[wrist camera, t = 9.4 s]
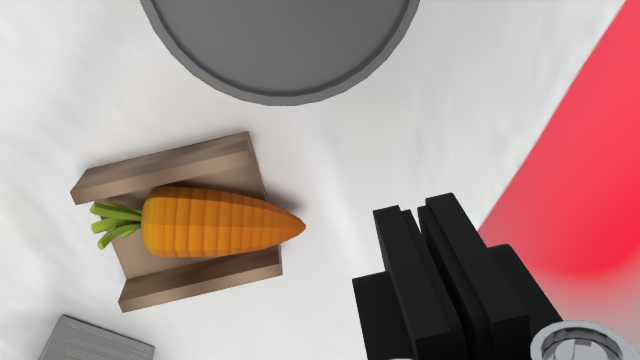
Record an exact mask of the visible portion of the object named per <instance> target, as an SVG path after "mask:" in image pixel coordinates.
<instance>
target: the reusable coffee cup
mask: <svg viewBox="0 0 640 360" xmlns="http://www.w3.org/2000/svg"><path fill="white" fill-rule="evenodd" d="M140 2H141V5H142V7H143V9H144V11H145V13H146V15H147V17H148V19H149V21H150V23H151V25H152V27H153V29H154V31H155V33H156V34H157V35H158V37H159V38H160V39H161V41H162V42H163V43H164V45H165V46H166V48H167V49H168V50H169V52H170V53H171V54H172V55H173V56H174V57H175V58H176V59H177V60H178V61H179V62H180V63H181V64H182V65H183V66H184V67H185V68H186V69H187V70H188V71H189V72H190V73H192V74H193V75H194V76H196V77H197V78H199V79H200V80H202V81H203V82H205V83H206V84H208V85H210V86H211V87H213V88H214V89H216V90H218V91H220V92H223V93H225V94H228V95H230V96H232V97H235V98H237V99H240V100H243V101H248V102H253V103H257V104H262V105H267V106H297V105H302V104H308V103H313V102H319V101H322V100H325V99H327V98H330V97H332V96H335V95H337V94H340V93H343V92H345V91H347V90H348V89H350V88H351V87H353V86H355V85H356V84H358V83H359V82H361V81H363V80H364V79H366V78H367V77H368V76H370V75H371V74H372V73H373V72H374V71H375V70H376V69H377V68H378V67H379V66H380V65H381V64H383V63H384V62H385V61H386V60H387V59H388V58H389V56H390V55H391V54H392V52H393V51H394V49H395V48H396V47H397V45H398V44H399V43H400V41H401V40H402V39H403V37H404V36H405V34H406V32H407V30H408V28H409V26H410V24H411V22H412V20H413V18H414V16H415V14H416V12H417V9H418V5H419V2H420V0H140Z"/></svg>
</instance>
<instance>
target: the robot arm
mask: <svg viewBox="0 0 640 360" xmlns="http://www.w3.org/2000/svg"><path fill="white" fill-rule="evenodd" d="M425 203H426V206H421V207H418V208H417V211H418V218H419V223H420V229H421V233H420V230H419V228H418V226H417V224H416V221H415V219H414V217H413V215H412V213H411V210H410V209H408V210H404V211H401V210H400V208H399V206H398V205H396V206H391V207H387V208H383V209H378V210H374V211H373V215H374V220H375V225H376V230H377V234H378V239H379V244H380V248H381V253H382V258H383V262H384V267H385V271H384V272H380V273H376V274H371V275H367V276H363V277H358V278H354V279H352V283H353V288H354V293H355V298H356V303H357V308H358V313H359V318H360V323H361V328H362V333H363V338H364V343H365V348H366V353H367V358H368V360H640V352H639V351H638V350H637V349H636V348H635V347H633V346H632V345H631V344H630V343H629V342H628V341H627V340H626V339H625V338H624V337H622V336H621V335H619V334H617V333H616V332H615V331H613V330H612V329H610V328H607V327H605V326H602V325H600V324H597V323H592V322H586V321H563V320H562V318H561V317H560V315H559V314H558V312H557V311H556V310H555V308H554V307H553V305H552V304H551V303H550V301H549V300H548V298H547V297H546V295H545V294H544V292H543V291H542V290H541V288H540V287H539V285H538V284H537V283H536V281H535V280H534V278H533V277H532V276H531V274H530V273H529V271H528V270H527V268H526V267H525V266H524V264H523V263H522V261H521V260H520V258H519V257H518V256H517V254H516V253H515V252H514V250H513V249H512V247H511V246H510V245H509V244H502V245H498V246H493V247H489V248H487V247H486V245H485V243H484V242H483V240H482V239H481V237H480V235H479V234H478V232H477V231H476V229H475V228H474V226H473V224H472V223H471V221H470V220H469V218H468V216H467V215H466V213H465V212H464V210H463V209H462V207H461V205H460V204H459V202H458V201H457V199H456V197H455V196H454V194H453V193H447V194H443V195H438V196H434V197H430V198H426V200H425Z"/></svg>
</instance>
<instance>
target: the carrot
mask: <svg viewBox="0 0 640 360" xmlns="http://www.w3.org/2000/svg"><path fill="white" fill-rule="evenodd" d="M90 212H91V213H93V214H96V215H100V216H104V217H110V218H106V219H103V220H101V221H98V222H96V223H93V224H92V231H93V233H94V234H97V233H100V232H103V231H107V230H109V229H112V228H113V230H111V231H110V232H108V233H106V234H105V235H104V236H103V237H102V238H101V239H100V241H99V242H98V243H97V244H98V247H99V248H100V249H101V250H102V249H104V248H105V247H106V246H107V245H108V243H109V242H110V241H111V240H112V239H114V238H115V237H117V236H118V235H120V234H121V236H122V238H123V239H124V238H125V237H127V236H128V235H130V234H131V233H133V232H134V231H136V230H137V229H141V236H142V240H143V242H144V244H145V246H146V248H147V250H148V251H149V252H150V253H151V254H152V255H155V256H160V257H214V256H225V255H233V254H240V253H246V252H252V251H257V250H262V249H265V248H268V247H271V246H274V245H277V244H280V243H282V242H285V241H287V240H289V239H291V238H293V237H295V236H298V235H299V234H300V233H301V232H303V231H304V230H305V229H306V225H305V224H304V223H303V222H302V221H301V219H300V218H298V217H296V216H294V215H293V214H291V213H289V212H287V211H285V210H284V209H282V208H280V207H277V206H275V205H272V204H270V203H268V202H265V201H263V200H259V199H255V198H251V197H247V196H243V195H239V194H234V193H229V192H224V191H218V190H208V189H199V188H187V187H173V186H161V187H156V188H155V189H153V190H152V191H151V192H150V193H149V195H148V196H147V198H146V201H145V203H144V206H143V210H142V211H139V210H136V209H133V208H130V207H127V206H124V205H121V204H116V203H109V202H103V203H102V204H100V203H94V204H93V205H92V207H91V209H90Z"/></svg>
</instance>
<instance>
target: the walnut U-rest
mask: <svg viewBox="0 0 640 360" xmlns="http://www.w3.org/2000/svg"><path fill="white" fill-rule="evenodd" d="M161 186H173V187H187V188H199V189H208V190H218V191H224V192H229V193H234V194H239V195H243V196H247V197H251V198H255V199H259V200H263V201H265V202H268V200H267V197H266V193H265V190H264V186H263V182H262V179H261V175H260V172H259V168H258V165H257V161H256V157H255V154H254V150H253V147H252V143H251V140H250V136H249V133H248V132H244V133H240V134H235V135H231V136H227V137H223V138H218V139H214V140H210V141H206V142H201V143H197V144H193V145H189V146H185V147H180V148H176V149H172V150H168V151H163V152H159V153H155V154H151V155H146V156H142V157H138V158H134V159H129V160H125V161H121V162H117V163H113V164H108V165H104V166H100V167H96V168H91V169H87V170H86V171H85V173H84V174H83V175H82V177H81V178H80V179H79V181H78V182H77V183H76V185H75V186H74V187H73V189H72V190H71V191H70V193H71V196H72V198H73V200H74V202H75V205H79V204H83V203H88V202H92V201H94V202H95V203H100V204H102V203H103V202H109V203H116V204H121V205H124V206H127V207H130V208H133V209H136V210H139V211H142V210H143V206H144V203H145V201H146V198H147V196H148V195H149V193H150V192H151V191H152V190H153V189H155V188H156V187H161ZM106 218H110V217H104V216H101V219H102V220H103V219H106ZM111 230H113V228H112V229H109V230H107V233H108V232H110V231H111ZM111 243H112V245H113V247H114V250H115V252H116V254H117V257H118V259H119V262H120V264H121V266H122V269H123V271H124V273H125V276H126V278H127V280H126V283H125V285H124V288H123V290H122V293H121V296H120V298H119V301H118V303H119V305H120V308H121V310H122V312H123V313H125V312H129V311H133V310H138V309H142V308H146V307H150V306H154V305H159V304H163V303H167V302H171V301H175V300H180V299H184V298H188V297H192V296H196V295H201V294H205V293H209V292H213V291H217V290H222V289H226V288H230V287H234V286H238V285H243V284H247V283H251V282H255V281H259V280H264V279H268V278H272V277H276V276H281V275H283V273H282V258H281V247H280V244H277V245H274V246H271V247H268V248H265V249H262V250H257V251H252V252H246V253H240V254H233V255H225V256H214V257H160V256H155V255H152V254H151V253H150V252H149V251H148V250H147V248H146V246H145V244H144V242H143V240H142V236H141V229H137V230H136V231H134V232H133V233H131V234H130V235H128V236H127V237H125V238H124V239H123V238H122V236H121V234H120V235H118V236H117V237H115V238H114V239H112V240H111Z"/></svg>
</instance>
